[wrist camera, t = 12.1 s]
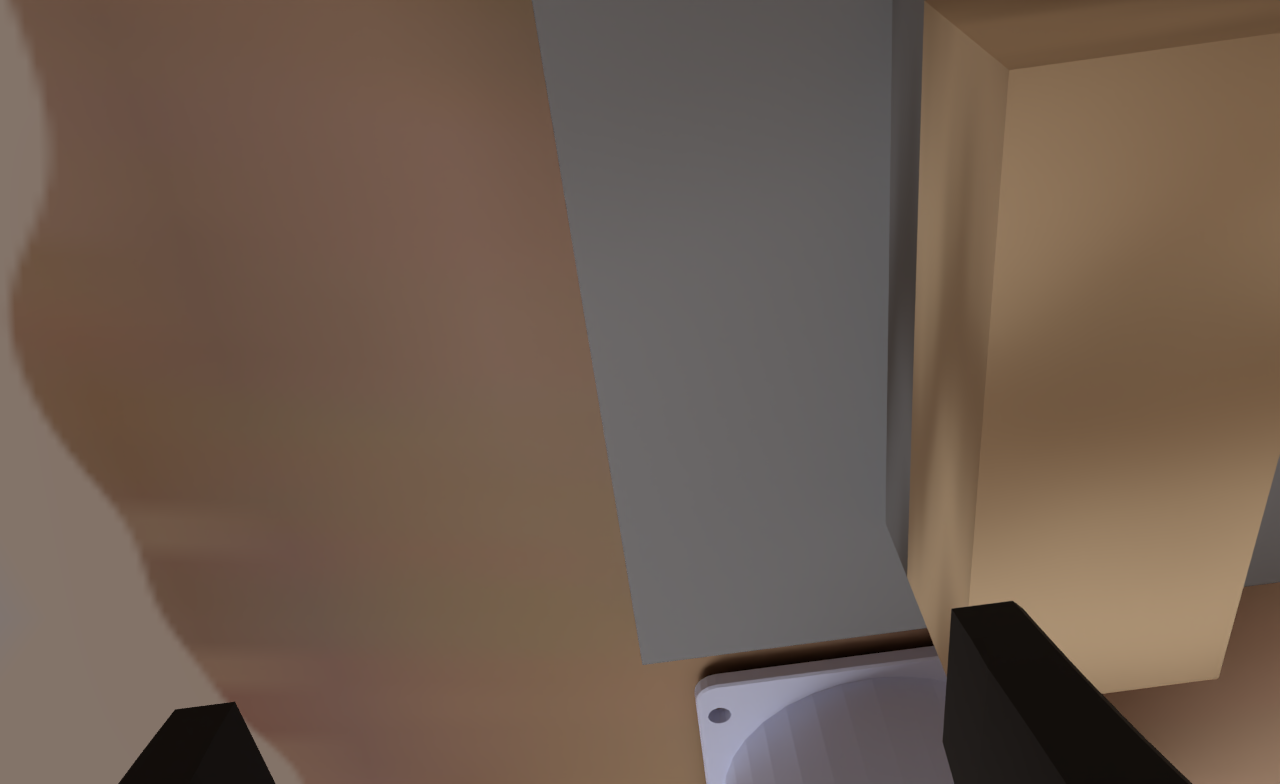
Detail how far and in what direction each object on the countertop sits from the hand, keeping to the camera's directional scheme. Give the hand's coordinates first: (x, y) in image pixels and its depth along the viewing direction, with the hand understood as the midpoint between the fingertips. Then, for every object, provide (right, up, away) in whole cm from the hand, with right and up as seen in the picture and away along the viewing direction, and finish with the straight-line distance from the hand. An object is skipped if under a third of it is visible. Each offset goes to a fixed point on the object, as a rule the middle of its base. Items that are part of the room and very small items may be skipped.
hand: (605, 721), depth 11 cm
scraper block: (+6, +5, +6) cm, 11 cm away
